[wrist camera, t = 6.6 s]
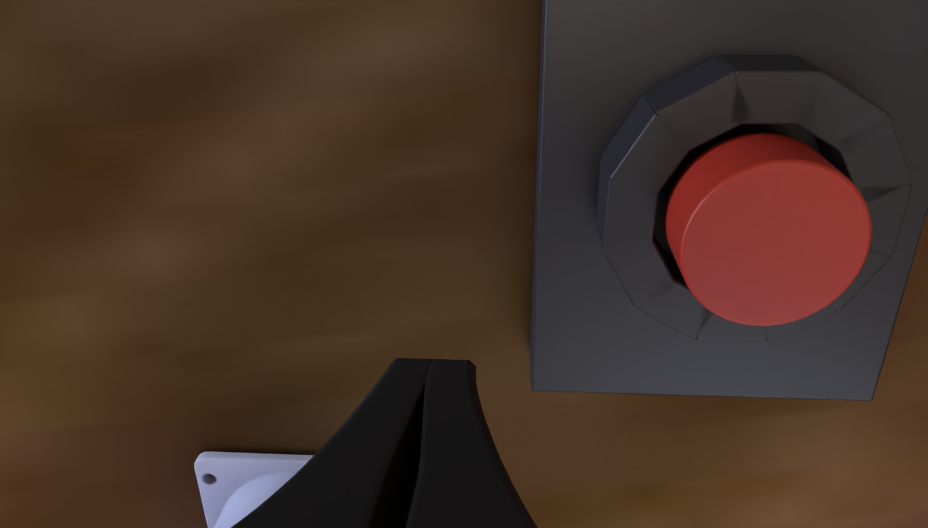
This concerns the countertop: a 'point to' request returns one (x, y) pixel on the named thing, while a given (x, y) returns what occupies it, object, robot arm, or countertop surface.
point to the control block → (676, 145)
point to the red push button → (766, 229)
